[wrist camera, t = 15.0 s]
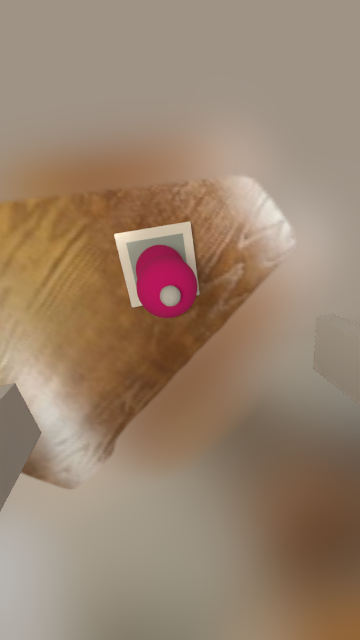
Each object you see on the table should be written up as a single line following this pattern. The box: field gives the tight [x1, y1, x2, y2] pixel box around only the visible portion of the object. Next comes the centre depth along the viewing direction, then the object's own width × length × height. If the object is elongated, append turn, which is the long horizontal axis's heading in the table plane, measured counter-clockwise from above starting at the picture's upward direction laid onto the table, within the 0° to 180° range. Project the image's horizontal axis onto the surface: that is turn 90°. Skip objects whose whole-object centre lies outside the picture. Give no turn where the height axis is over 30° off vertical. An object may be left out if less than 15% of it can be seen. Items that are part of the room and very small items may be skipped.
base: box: [114, 222, 200, 307], centre depth 38 cm, size 12×12×3 cm
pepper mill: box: [136, 245, 198, 318], centre depth 28 cm, size 7×7×20 cm
